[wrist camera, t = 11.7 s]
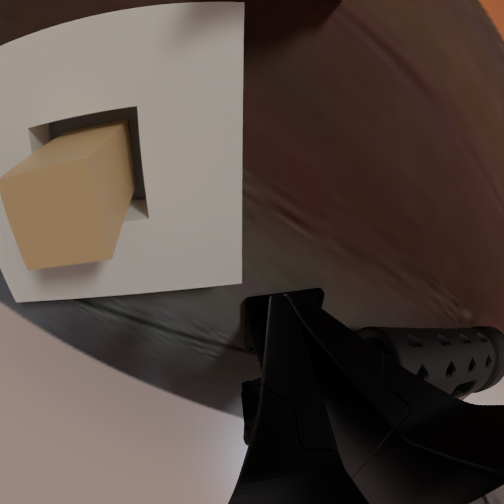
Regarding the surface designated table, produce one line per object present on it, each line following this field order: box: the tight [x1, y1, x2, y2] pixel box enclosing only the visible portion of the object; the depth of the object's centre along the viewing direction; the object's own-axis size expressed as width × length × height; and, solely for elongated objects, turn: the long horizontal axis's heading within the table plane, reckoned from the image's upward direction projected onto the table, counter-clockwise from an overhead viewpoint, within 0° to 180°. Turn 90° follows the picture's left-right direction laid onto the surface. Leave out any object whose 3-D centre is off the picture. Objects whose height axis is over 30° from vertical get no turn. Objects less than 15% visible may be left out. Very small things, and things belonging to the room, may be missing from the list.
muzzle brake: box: [353, 326, 504, 398], centre depth 30 cm, size 10×28×10 cm, turn 71°
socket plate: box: [0, 2, 244, 302], centre depth 15 cm, size 16×16×3 cm
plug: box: [0, 119, 136, 270], centre depth 13 cm, size 4×4×8 cm
